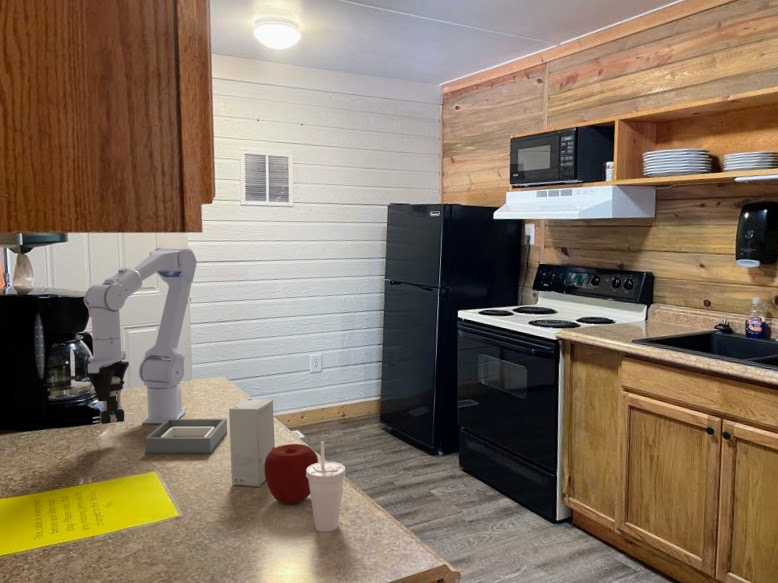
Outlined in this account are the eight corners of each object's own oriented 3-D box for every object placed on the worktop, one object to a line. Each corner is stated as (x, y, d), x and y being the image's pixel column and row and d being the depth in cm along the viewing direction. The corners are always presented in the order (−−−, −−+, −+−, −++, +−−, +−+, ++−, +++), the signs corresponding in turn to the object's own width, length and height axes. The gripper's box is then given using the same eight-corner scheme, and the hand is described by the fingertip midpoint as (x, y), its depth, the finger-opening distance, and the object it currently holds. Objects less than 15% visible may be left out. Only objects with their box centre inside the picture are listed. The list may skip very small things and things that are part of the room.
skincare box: (259, 488, 115) (257, 410, 114) (229, 485, 117) (227, 408, 115) (276, 471, 123) (275, 398, 122) (248, 468, 125) (246, 396, 123)
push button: (95, 427, 136) (94, 382, 135) (90, 421, 140) (89, 378, 139) (127, 422, 139) (126, 379, 139) (122, 417, 144) (121, 374, 143)
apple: (280, 486, 116) (279, 434, 115) (328, 492, 113) (327, 439, 112) (255, 507, 107) (253, 451, 106) (305, 515, 104) (304, 457, 103)
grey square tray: (168, 433, 147) (167, 418, 146) (227, 433, 147) (226, 418, 146) (145, 454, 133) (144, 438, 132) (210, 454, 133) (210, 438, 133)
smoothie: (318, 514, 104) (317, 434, 103) (352, 521, 102) (352, 438, 101) (299, 531, 98) (297, 446, 97) (335, 539, 96) (334, 451, 95)
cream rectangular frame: (171, 435, 144) (171, 426, 144) (215, 435, 144) (215, 426, 144) (159, 447, 136) (158, 438, 135) (205, 447, 136) (205, 438, 135)
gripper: (103, 332, 146) (106, 389, 147) (72, 343, 131) (75, 406, 132) (133, 332, 146) (136, 389, 147) (105, 343, 131) (108, 406, 132)
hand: (109, 397), depth 140 cm, fingers closed on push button, 5 cm apart
